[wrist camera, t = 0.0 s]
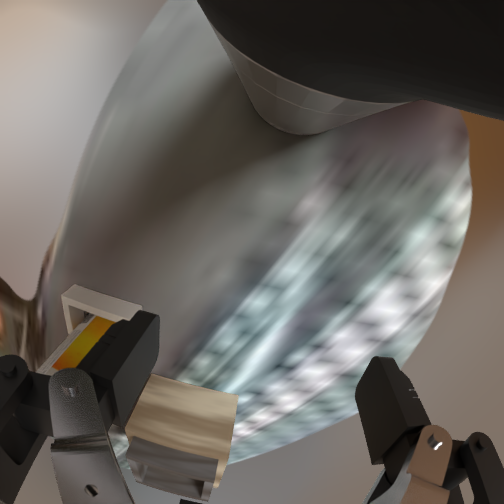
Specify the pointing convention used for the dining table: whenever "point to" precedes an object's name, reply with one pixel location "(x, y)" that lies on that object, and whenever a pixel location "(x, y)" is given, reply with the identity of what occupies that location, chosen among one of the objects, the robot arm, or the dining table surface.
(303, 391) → the dining table surface
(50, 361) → the beer can
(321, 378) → the dining table surface
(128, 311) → the low collar
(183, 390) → the stand
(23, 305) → the dining table surface
